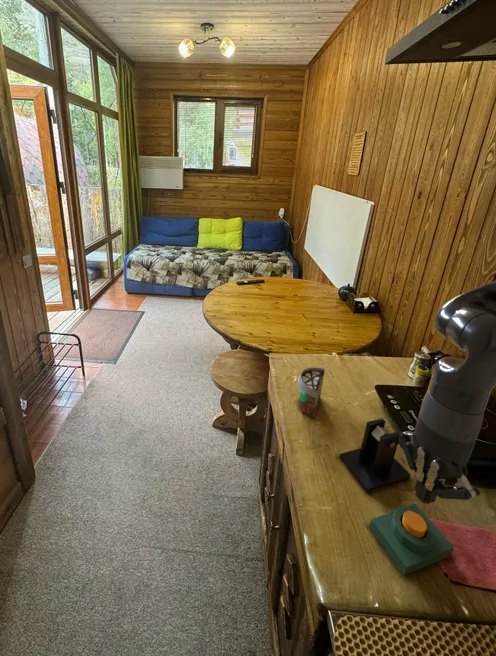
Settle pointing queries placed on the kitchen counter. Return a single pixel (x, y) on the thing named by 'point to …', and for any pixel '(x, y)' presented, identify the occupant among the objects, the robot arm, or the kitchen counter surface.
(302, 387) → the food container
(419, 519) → the button
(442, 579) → the kitchen counter surface
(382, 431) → the lever
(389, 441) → the bracket
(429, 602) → the kitchen counter surface
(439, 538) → the button panel
